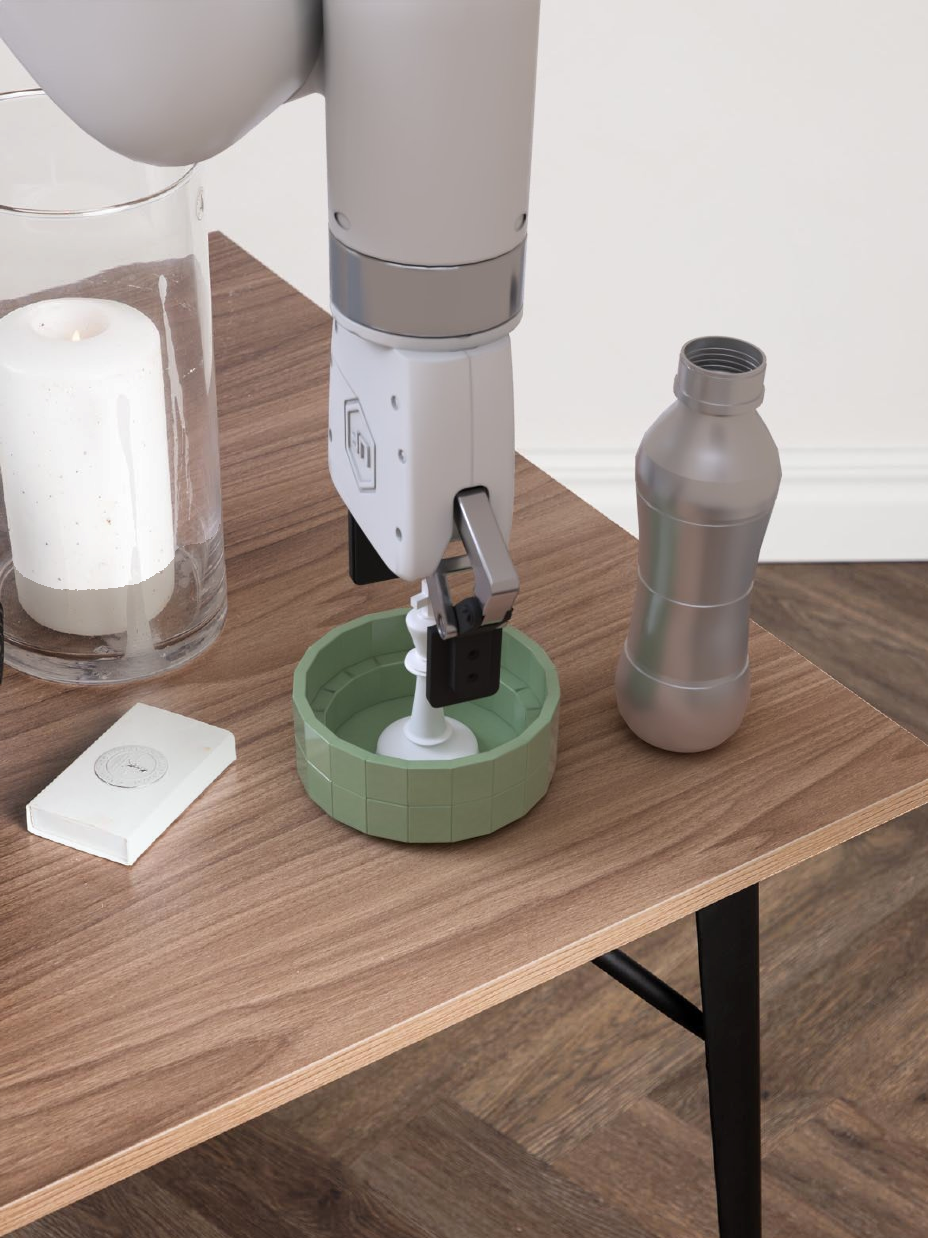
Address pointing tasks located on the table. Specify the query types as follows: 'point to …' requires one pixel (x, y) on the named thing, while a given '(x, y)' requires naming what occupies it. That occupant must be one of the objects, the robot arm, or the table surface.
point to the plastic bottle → (699, 550)
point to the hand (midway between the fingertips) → (421, 635)
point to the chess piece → (424, 705)
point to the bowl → (384, 692)
